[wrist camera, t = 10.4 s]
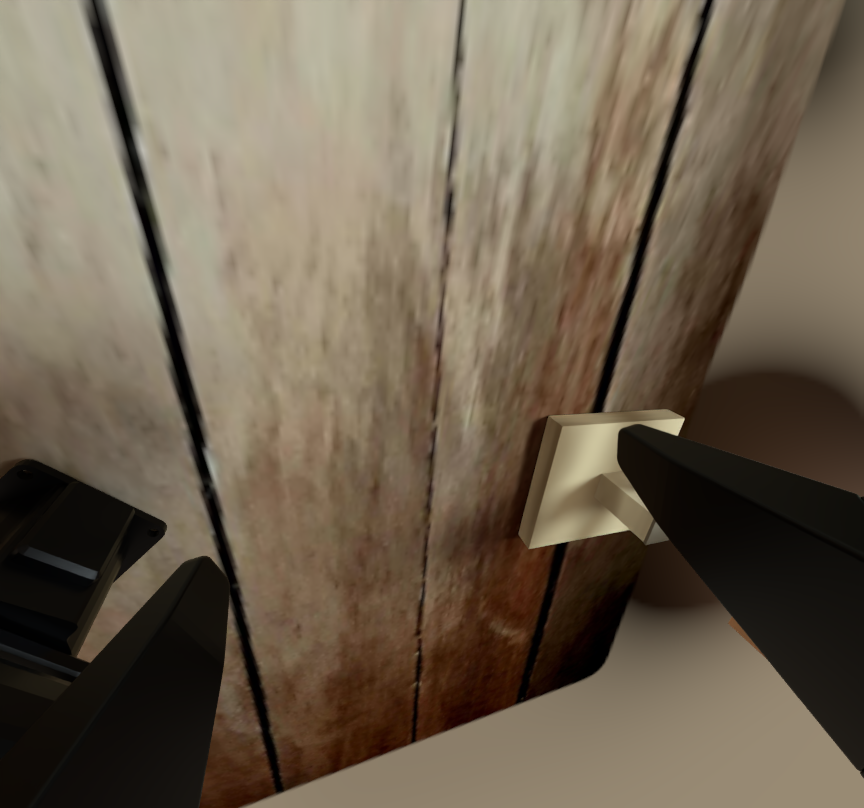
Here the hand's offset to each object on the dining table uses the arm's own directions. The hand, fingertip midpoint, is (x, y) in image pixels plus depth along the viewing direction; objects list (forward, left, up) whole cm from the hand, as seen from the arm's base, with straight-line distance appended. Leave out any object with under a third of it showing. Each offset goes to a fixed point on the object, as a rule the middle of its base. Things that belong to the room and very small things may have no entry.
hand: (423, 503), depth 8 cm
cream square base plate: (+6, -20, -12) cm, 24 cm away
